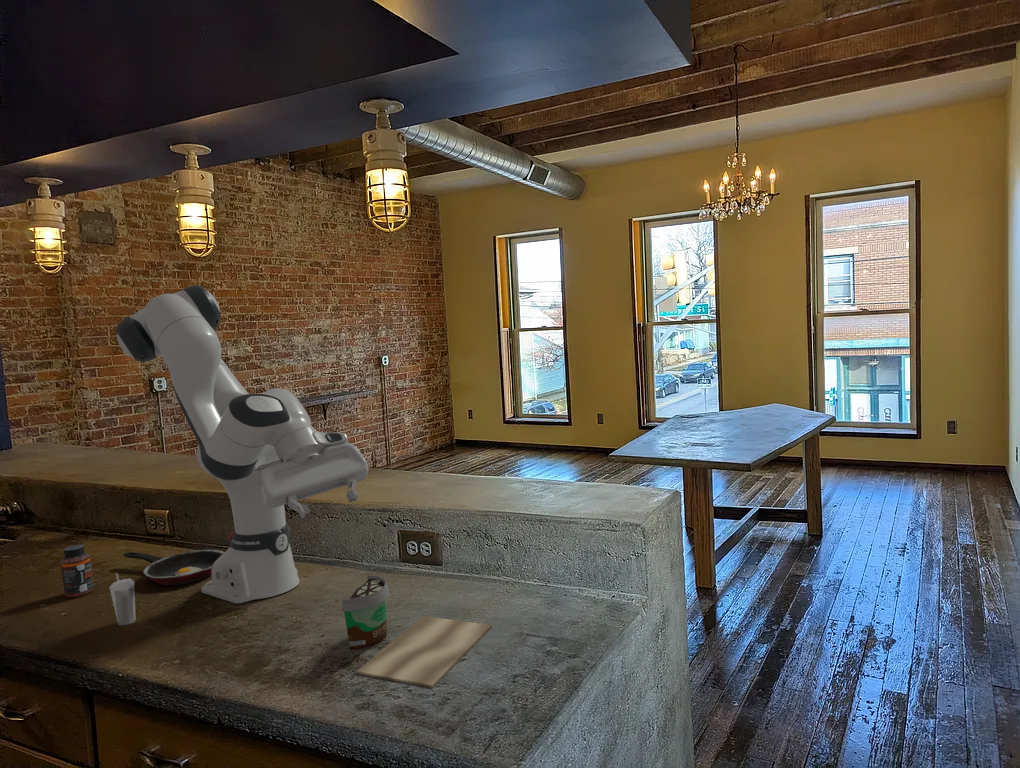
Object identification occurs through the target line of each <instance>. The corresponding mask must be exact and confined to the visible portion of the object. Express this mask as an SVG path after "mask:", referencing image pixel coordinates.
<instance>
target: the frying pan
mask: <svg viewBox="0 0 1020 768" xmlns="http://www.w3.org/2000/svg"><path fill="white" fill-rule="evenodd" d="M225 552H226V551H223V550H218V549H201V550H199V549H198V550H191V551H184V552H181V553H177V554H176V553H175V554H172V555H170V556H166V557H163V556H162V557H161V556H156V555H153V554H148V553H141V552H133V551H132V552H125V553H123V557H125V558H128V559H137V560H143V561H146V562H147V563H149V564H148V565H147V566H146V567H145V568H144V569H143V571H142V572H143V574H144V575H145V577H148V578H149V579H150V580H151V581H154V582H155V583H157V584H159V585H162V586H176V585H185V584H189V583H194V582H197V581H200V580H203V579H205V578H208V577H211V570H212V566H213V564H214V562H215V561H216V560H217V559H218V558H219V557H220V556H222V555H223V554H224V553H225Z"/></svg>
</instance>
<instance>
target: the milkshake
mask: <svg viewBox="0 0 1020 768" xmlns="http://www.w3.org/2000/svg"><path fill="white" fill-rule="evenodd" d="M119 577H120V576H119V573H118V572H116V573H115V578H116V581H114V582H113V583H112V584H111V585H110V586H109V591H110V596H111V599H112V604H113V608H114V612H115V617H116V621H117V625H118V626H122V627H123V626H128V625H131V624H133V623H135V622H136V620H137V619H136V617H137V616H136V597H135V581H134V580H133V579H132V578H131V577H130V578H124V579H120V578H119Z"/></svg>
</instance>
